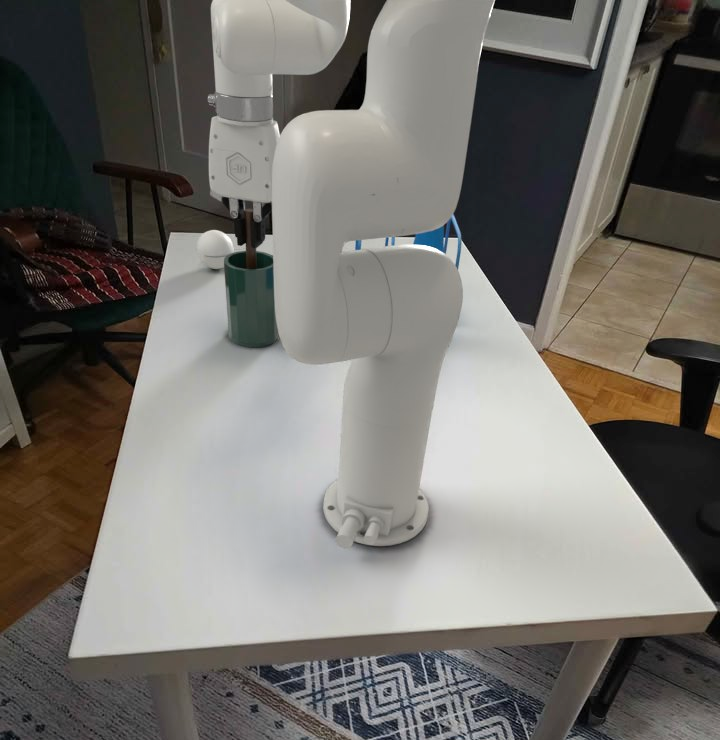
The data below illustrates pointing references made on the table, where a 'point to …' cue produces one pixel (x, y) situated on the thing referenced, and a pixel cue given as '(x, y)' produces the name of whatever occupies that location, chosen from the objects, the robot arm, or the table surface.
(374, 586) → the table surface
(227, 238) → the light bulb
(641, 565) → the table surface
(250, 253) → the brush
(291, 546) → the table surface
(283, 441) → the table surface
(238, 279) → the cup
